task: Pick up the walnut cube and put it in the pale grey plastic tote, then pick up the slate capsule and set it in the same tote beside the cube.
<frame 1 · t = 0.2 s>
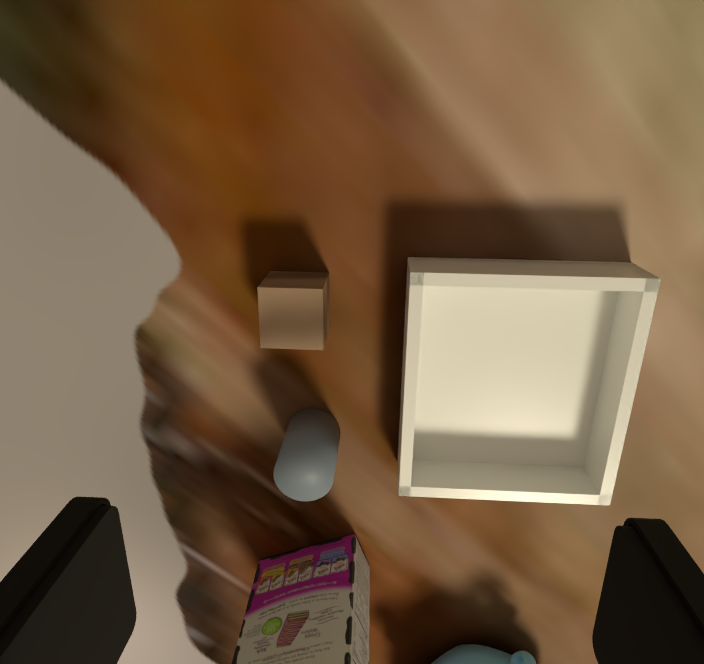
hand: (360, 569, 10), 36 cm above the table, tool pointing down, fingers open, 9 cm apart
tote: (504, 370, 48), on the table
walnut cube: (300, 299, 46), on the table
slate capsule: (313, 431, 51), on the table
candy bar box: (316, 561, 57), on the table
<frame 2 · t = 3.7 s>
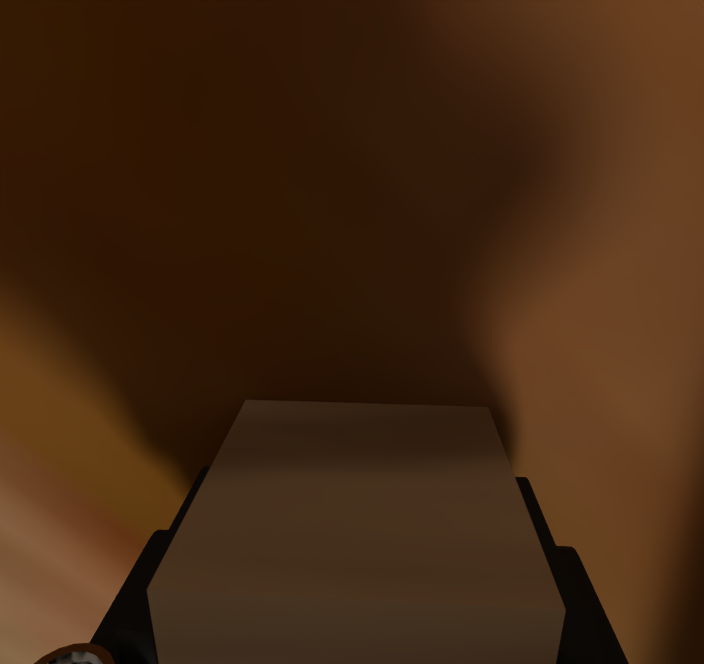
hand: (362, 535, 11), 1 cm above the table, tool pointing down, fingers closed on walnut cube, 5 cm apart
walnut cube: (364, 503, 12), on the table, touching gripper
when the fingers open (3 cm above the table, at t = 10.5 s): walnut cube drops 1 cm, resting on tote.
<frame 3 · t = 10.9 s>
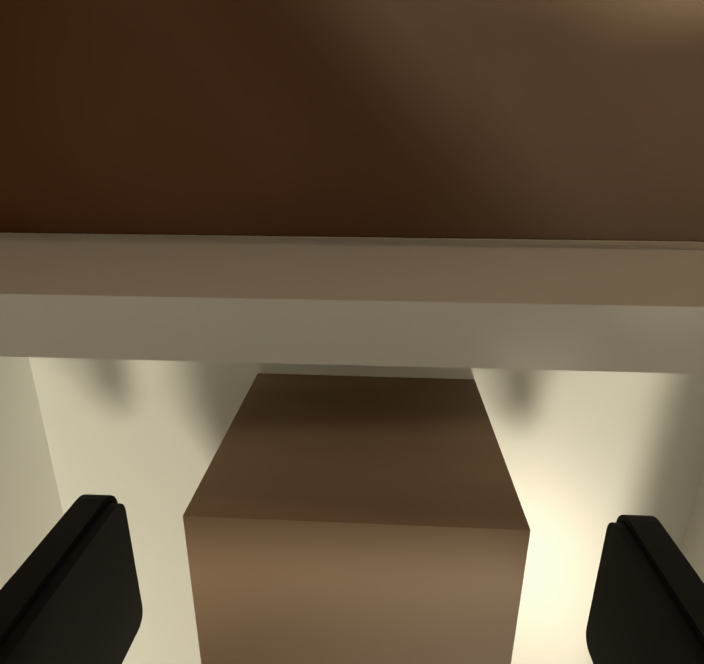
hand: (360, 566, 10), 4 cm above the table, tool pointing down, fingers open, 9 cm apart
tote: (364, 578, 16), on the table
walnut cube: (363, 468, 13), point 1 cm above the table, touching tote
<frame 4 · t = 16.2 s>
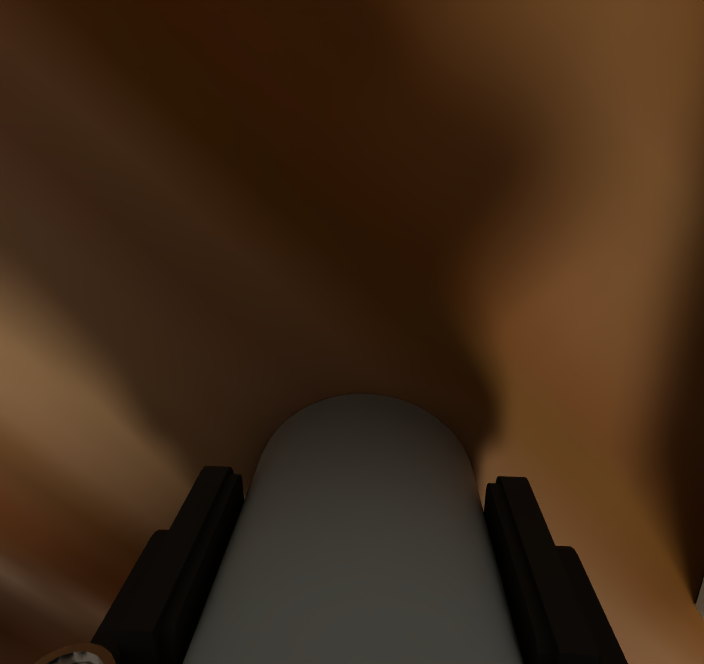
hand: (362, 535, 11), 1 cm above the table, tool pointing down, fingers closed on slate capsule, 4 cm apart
slate capsule: (364, 491, 12), on the table, touching gripper
when the fingers open (3 cm above the table, at t = 22.9 s): slate capsule stays where it is, resting on tote.
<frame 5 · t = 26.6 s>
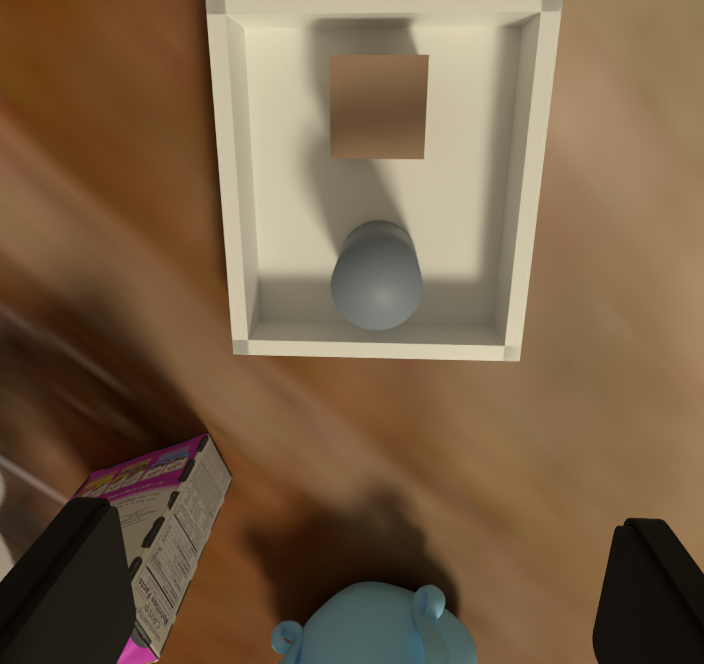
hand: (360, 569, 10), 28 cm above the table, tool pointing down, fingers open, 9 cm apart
decorative pot: (380, 630, 49), on the table
tote: (378, 186, 35), on the table
walnut cube: (378, 112, 33), point 1 cm above the table, touching tote
slate capsule: (378, 258, 36), point 1 cm above the table, touching tote
candy bar box: (165, 474, 44), on the table
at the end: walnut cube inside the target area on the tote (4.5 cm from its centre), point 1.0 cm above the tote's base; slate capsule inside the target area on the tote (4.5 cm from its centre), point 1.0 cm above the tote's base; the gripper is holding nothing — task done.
